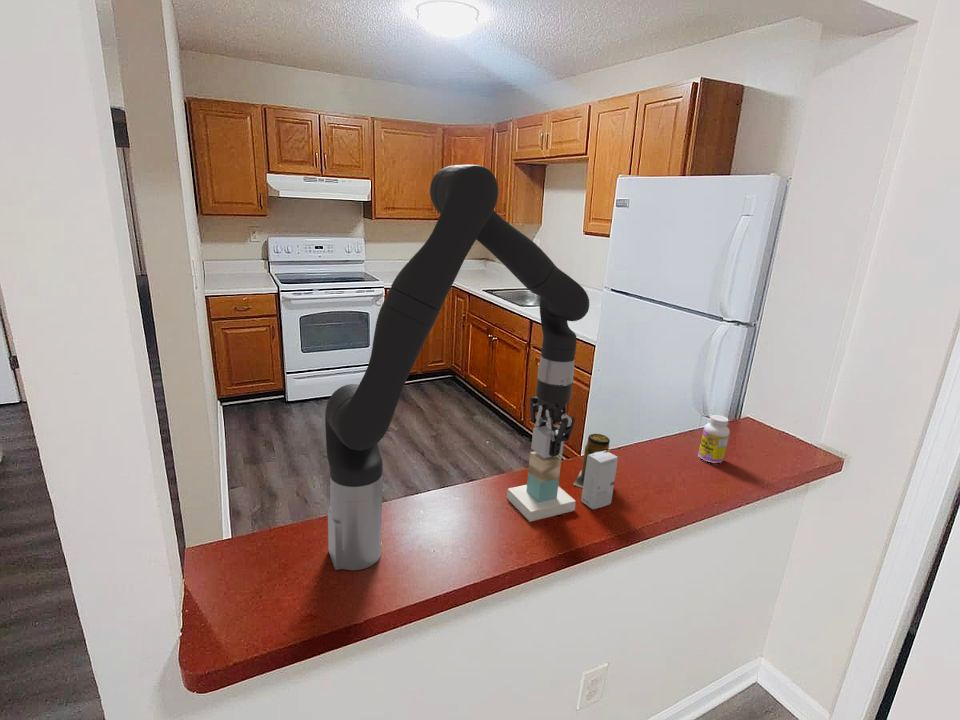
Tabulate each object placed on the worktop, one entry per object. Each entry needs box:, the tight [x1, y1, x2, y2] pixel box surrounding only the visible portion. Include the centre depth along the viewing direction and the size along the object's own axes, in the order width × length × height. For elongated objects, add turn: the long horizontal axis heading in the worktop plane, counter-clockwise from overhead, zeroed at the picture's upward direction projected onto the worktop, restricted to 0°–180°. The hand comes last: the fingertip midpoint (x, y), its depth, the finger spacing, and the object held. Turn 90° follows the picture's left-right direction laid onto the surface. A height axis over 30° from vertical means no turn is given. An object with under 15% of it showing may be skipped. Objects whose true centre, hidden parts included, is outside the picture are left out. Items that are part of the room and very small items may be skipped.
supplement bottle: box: [697, 414, 731, 463], centre depth 148 cm, size 7×7×13 cm
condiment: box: [573, 433, 611, 489], centre depth 131 cm, size 7×8×12 cm
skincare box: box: [580, 450, 619, 510], centre depth 122 cm, size 6×4×12 cm
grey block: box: [530, 425, 565, 458], centre depth 116 cm, size 5×5×5 cm
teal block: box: [526, 472, 560, 503], centre depth 120 cm, size 5×5×5 cm
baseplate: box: [506, 484, 577, 523], centre depth 121 cm, size 12×10×2 cm
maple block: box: [527, 450, 562, 483], centre depth 118 cm, size 5×5×5 cm
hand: (546, 449), depth 117 cm, fingers closed on grey block, 5 cm apart
